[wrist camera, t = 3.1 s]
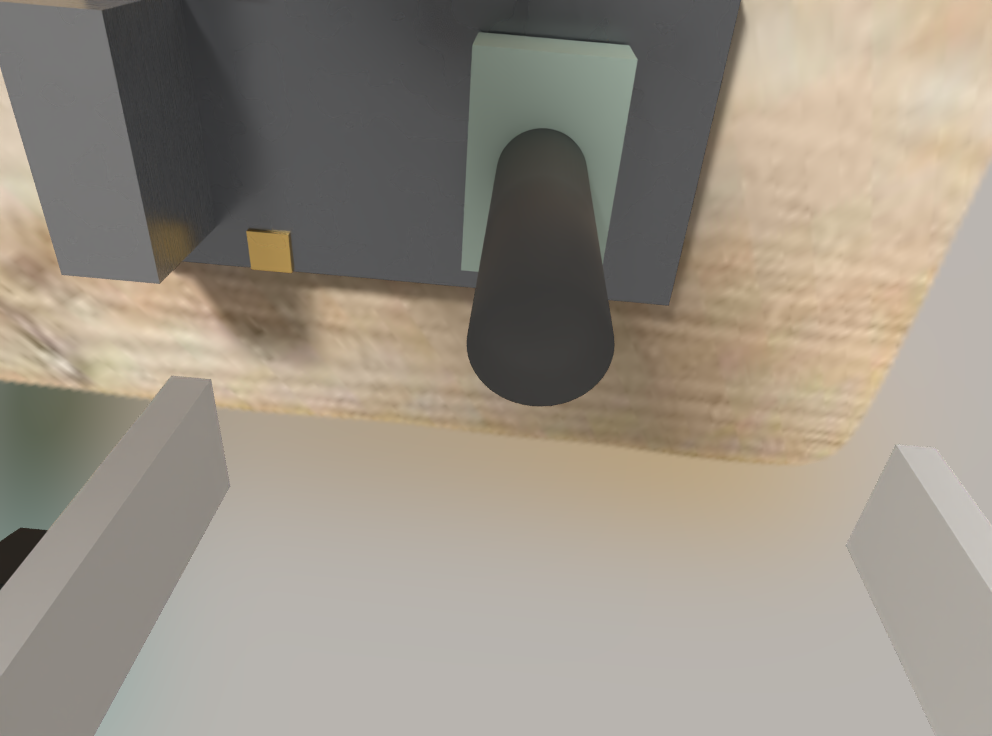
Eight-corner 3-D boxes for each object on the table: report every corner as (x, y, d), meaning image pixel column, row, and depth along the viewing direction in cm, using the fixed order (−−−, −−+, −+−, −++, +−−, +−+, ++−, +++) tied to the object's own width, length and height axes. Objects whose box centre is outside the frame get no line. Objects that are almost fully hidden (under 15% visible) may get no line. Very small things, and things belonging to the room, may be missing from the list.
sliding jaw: (467, 242, 33) (415, 473, 20) (478, 32, 28) (420, 152, 15) (595, 253, 33) (629, 493, 20) (629, 45, 28) (706, 178, 15)
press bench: (155, 244, 36) (74, 317, 30) (87, -79, 28) (-41, -72, 22) (664, 291, 36) (689, 373, 30) (736, -22, 28) (790, 1, 22)
